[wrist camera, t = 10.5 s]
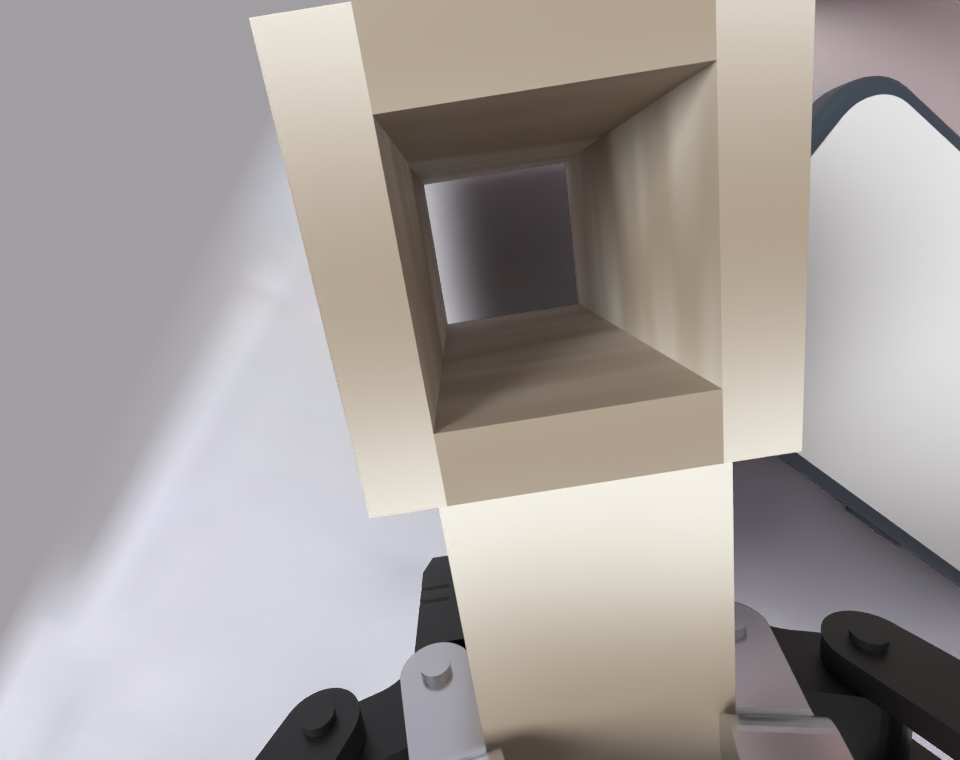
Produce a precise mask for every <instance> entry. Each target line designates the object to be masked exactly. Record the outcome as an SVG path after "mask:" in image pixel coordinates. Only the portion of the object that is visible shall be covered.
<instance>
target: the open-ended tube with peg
mask: <svg viewBox="0 0 960 760" xmlns="http://www.w3.org/2000/svg"><path fill="white" fill-rule="evenodd" d="M249 20H250V24H251V28H252V32H253V36H254V41H255V44H256V49H257V53H258V57H259V61H260V65H261V70H262V74H263V78H264V82H265V86H266V90H267V94H268V99H269V103H270V107H271V111H272V115H273V119H274V124H275V128H276V132H277V136H278V140H279V144H280V148H281V153H282V157H283V161H284V165H285V169H286V173H287V177H288V182H289V186H290V190H291V194H292V198H293V202H294V207H295V211H296V215H297V219H298V223H299V227H300V231H301V236H302V240H303V244H304V248H305V252H306V256H307V260H308V265H309V269H310V273H311V277H312V281H313V285H314V290H315V294H316V298H317V302H318V306H319V310H320V314H321V319H322V323H323V327H324V331H325V335H326V339H327V343H328V348H329V352H330V356H331V360H332V364H333V368H334V372H335V377H336V381H337V385H338V389H339V393H340V397H341V402H342V406H343V410H344V414H345V418H346V422H347V426H348V431H349V435H350V439H351V443H352V447H353V451H354V455H355V460H356V464H357V468H358V472H359V476H360V480H361V484H362V489H363V493H364V497H365V501H366V505H367V509H368V514H369V518H376V517H382V516H388V515H395V514H401V513H408V512H414V511H421V510H427V509H433V508H439V512H440V517H441V522H442V527H443V533H444V538H445V543H446V548H447V553H448V558H449V563H450V568H451V573H452V578H453V583H454V589H455V594H456V599H457V604H458V609H459V614H460V619H461V624H462V629H463V634H464V640H465V645H466V650H467V655H468V660H469V665H470V670H471V675H472V680H473V685H474V690H475V696H476V701H477V706H478V711H479V716H480V721H481V726H482V731H483V736H484V741H485V746H486V752H488V751H491V750H493V749H496V748H499V747H500V748H501V751H502V753H503V756H504V759H505V760H722V758H721V752H720V734H719V716H721V714H722V713H735V714H736V701H735V619H734V537H733V462H736V461H742V460H749V459H755V458H762V457H768V456H774V455H781V454H787V453H794V452H800V451H802V433H803V400H804V366H805V332H806V299H807V265H808V231H809V198H810V164H811V130H812V97H813V63H814V29H815V0H357V1H351V2H345V3H339V4H332V5H326V6H320V7H314V8H308V9H301V10H295V11H289V12H282V13H276V14H270V15H264V16H257V17H251V18H249ZM564 162H565V169H566V179H567V190H568V200H569V210H570V221H571V231H572V242H573V252H574V262H575V273H576V283H577V293H578V304H575V305H568V306H562V307H556V308H549V309H543V310H537V311H530V312H524V313H518V314H511V315H505V316H498V317H492V318H486V319H479V320H473V321H467V322H460V323H454V324H447V318H446V312H445V306H444V300H443V294H442V289H441V283H440V277H439V271H438V265H437V259H436V254H435V248H434V242H433V236H432V230H431V224H430V218H429V213H428V207H427V201H426V195H425V189H424V185H425V184H432V183H438V182H444V181H450V180H457V179H463V178H469V177H476V176H482V175H488V174H495V173H501V172H507V171H514V170H520V169H526V168H533V167H539V166H545V165H552V164H558V163H564Z"/></svg>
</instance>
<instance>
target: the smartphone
mask: <svg viewBox="0 0 960 760" xmlns="http://www.w3.org/2000/svg"><path fill="white" fill-rule="evenodd" d="M777 456H778V457H780V458H781V459H782V460H784V461H785V462H787V463H788V464H789V465H791V466H792V467H794V468H795V469H796V470H798V471H799V472H801V473H802V474H803V475H805V476H806V477H808V478H809V479H810V480H812V481H813V482H814V483H816V484H817V485H819V486H820V487H821V488H823V489H824V490H826V491H827V492H828V493H830V494H831V495H833V496H834V497H835V498H837V499H838V500H840V501H841V502H842V503H844V504H845V505H846V507H845V509H846V510H847V511H849V512H850V513H851V514H853V515H854V516H856V517H857V518H858V519H860V520H861V521H863V522H864V523H865V524H867V525H868V526H869V527H871V528H872V529H874V530H875V531H876V532H878V533H879V534H881V535H882V536H883V537H885V538H886V539H888V540H889V541H890V542H892V543H893V544H895V545H896V546H898V547H901V546H904V547H905V548H906V549H908V550H909V551H911V552H912V553H913V554H915V555H916V556H917V557H919V558H920V559H922V560H923V561H924V562H926V563H927V564H929V565H930V566H931V567H933V568H934V569H936V570H937V571H938V572H940V573H941V574H943V575H944V576H945V577H947V578H948V579H949V580H951V581H952V582H954V583H955V584H956V585H958V586H959V587H960V137H959V136H958V135H957V134H956V133H955V132H954V131H953V130H951V129H950V128H949V127H948V126H947V125H946V124H945V123H944V122H943V121H942V120H941V119H940V118H939V117H938V116H937V115H936V114H934V113H933V112H932V111H931V110H930V109H929V108H928V107H927V106H926V105H925V104H924V103H923V102H922V101H921V100H920V99H918V98H917V97H916V96H915V95H914V94H913V93H912V92H911V91H910V90H909V89H908V88H907V87H906V86H904V85H903V84H901V83H900V82H899V81H897V80H894V79H892V78H889V77H883V76H871V77H863V78H860V79H857V80H853V81H851V82H849V83H846V84H844V85H841V86H839V87H837V88H834V89H832V90H831V91H829V92H827V93H825V94H824V95H822V96H821V97H820V98H818V99H817V100H816V101H815V102H814V103H813V104H812V130H811V164H810V198H809V231H808V265H807V299H806V332H805V366H804V400H803V433H802V451H800V452H794V453H787V454H781V455H777Z"/></svg>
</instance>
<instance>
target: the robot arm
mask: <svg viewBox="0 0 960 760" xmlns="http://www.w3.org/2000/svg"><path fill="white" fill-rule="evenodd" d="M420 603H421V604H420V608H419V618H418V627H417V636H416V646H415V653H414V654H413V655H412V656H411V657H410V658H409V659H408V661H407V662H406V664H405V665H404V667H403V669H402V672H401V677H400V680H398V681H397V682H396V683H395V684H393V685H392V686H390V687H389V688H387V689H385V690H383V691H382V692H379V693H377V694H375V695H373V696H370V697H368V698H366V699H364V700H362V701H359V702H358V700H357V698H356V697H355V695H354V694H353V693H351V692H350V691H348V690H345V689H342V688H329V689H324V690H321V691H318V692H316V693H314V694H312V695H310V696H309V697H307V698H305V699H304V700H303V701H301V702H300V703H299V704H298V705H297V706H296V707H295V708H294V709H293V710H292V711H291V712H290V713H289V715H288V716H287V717H286V719H285V720H284V721H283V723H282V724H281V725H280V727H279V728H278V729H277V731H276V732H275V734H274V735H273V736H272V738H271V739H270V740H269V742H268V743H267V744H266V746H265V747H264V748H263V750H262V751H261V752H260V754H259V755H258V756H257V758H256V759H255V760H505V759H504V756H503V753H502V751H501V748H500V747H499V748H496V749H493V750H491V751H488V752H486V746H485V741H484V736H483V731H482V726H481V721H480V716H479V711H478V706H477V701H476V696H475V690H474V685H473V680H472V675H471V670H470V665H469V660H468V655H467V650H466V645H465V640H464V634H463V629H462V624H461V619H460V614H459V609H458V604H457V599H456V594H455V589H454V583H453V578H452V573H451V568H450V563H449V558H448V556H443V557H437V558H433V559H432V560H431V562H430V563H429V565H428V566H427V568H426V569H425V571H424V572H423V580H422V591H421V599H420ZM734 619H735V701H736V714H735V713H722V714H721V716H719V734H720V752H721V758H722V760H941V759H940V758H939V757H937V756H936V755H934V754H933V753H931V752H930V751H929V750H927V749H926V748H924V747H923V746H922V745H920V744H919V743H917V742H916V741H915V740H913V739H912V731H914V732H915V733H917V734H918V735H920V736H921V737H923V738H924V739H925V740H927V741H928V742H930V743H931V744H933V745H934V746H935V747H937V748H938V749H940V750H941V751H943V752H944V753H945V754H947V755H948V756H950V757H951V758H953V759H954V760H960V660H959V659H957V658H955V657H953V656H952V655H950V654H948V653H946V652H944V651H943V650H941V649H939V648H937V647H935V646H934V645H932V644H930V643H928V642H926V641H924V640H923V639H921V638H919V637H917V636H915V635H914V634H912V633H910V632H908V631H906V630H905V629H903V628H901V627H899V626H897V625H895V624H894V623H892V622H890V621H888V620H886V619H883V618H881V617H878V616H875V615H872V614H869V613H864V612H858V611H840V612H835V613H832V614H830V615H828V616H827V617H826V618H825V619H824V620H823V622H822V624H821V633H817V632H807V631H797V630H787V629H780V628H776V627H772V626H769V624H768V622H767V621H766V620H765V619H764V617H763V616H761V615H760V614H759V613H758V612H756V611H755V610H753V609H752V608H750V607H748V606H746V605H743V604H741V603H737V602H734Z"/></svg>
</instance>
